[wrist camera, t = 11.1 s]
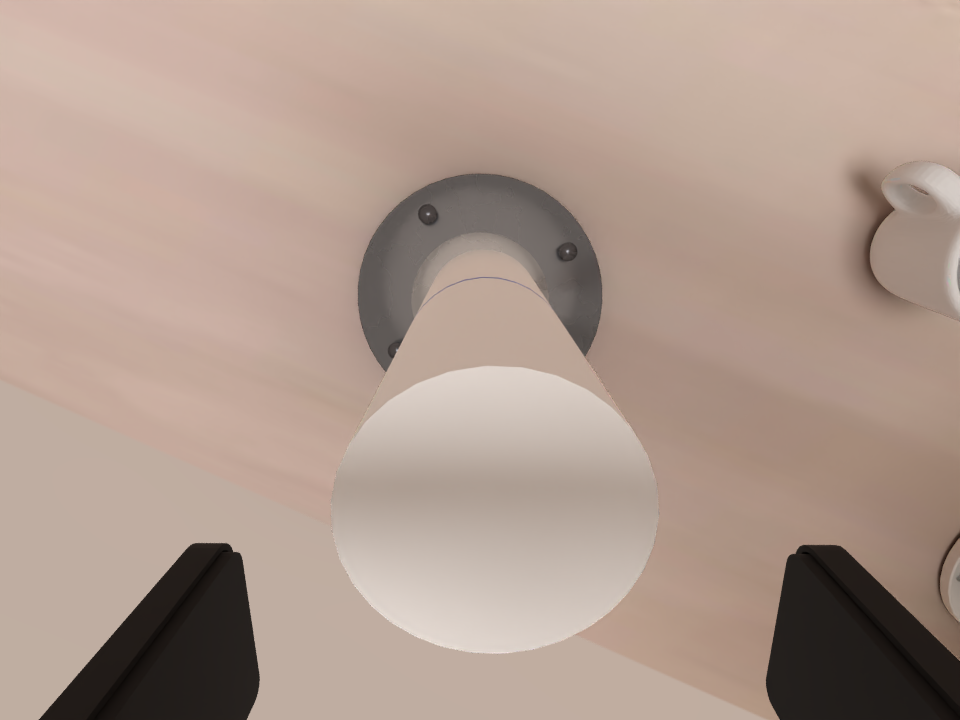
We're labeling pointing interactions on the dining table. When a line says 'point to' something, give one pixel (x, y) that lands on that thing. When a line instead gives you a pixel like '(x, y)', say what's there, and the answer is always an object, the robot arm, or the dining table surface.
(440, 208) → the flange plate
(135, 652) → the robot arm
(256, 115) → the dining table surface
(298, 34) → the dining table surface
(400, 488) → the cylindrical container
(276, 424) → the dining table surface
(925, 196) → the cup
